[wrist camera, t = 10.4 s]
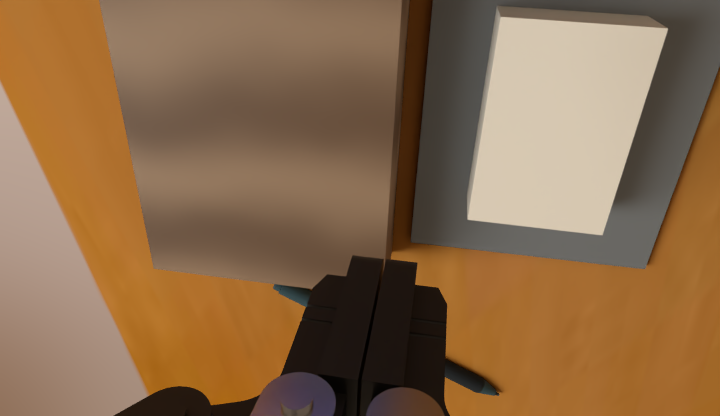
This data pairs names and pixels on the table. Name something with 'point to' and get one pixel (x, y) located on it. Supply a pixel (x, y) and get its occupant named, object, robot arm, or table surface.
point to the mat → (646, 155)
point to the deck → (262, 131)
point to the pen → (451, 369)
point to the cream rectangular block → (559, 115)
